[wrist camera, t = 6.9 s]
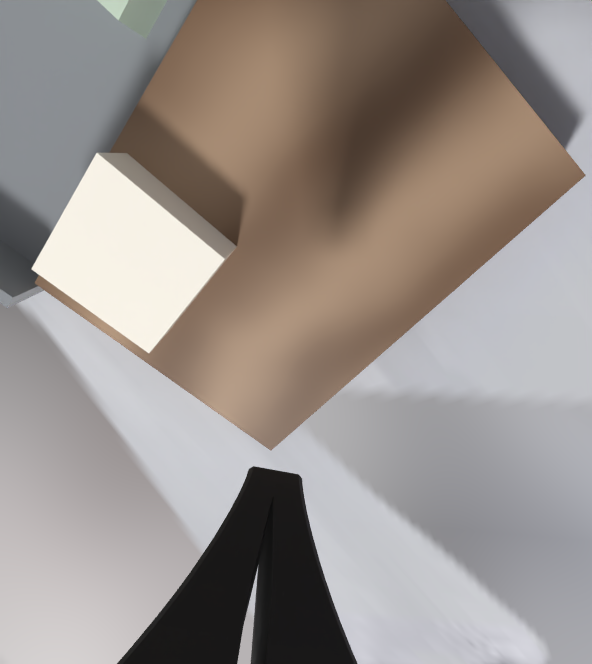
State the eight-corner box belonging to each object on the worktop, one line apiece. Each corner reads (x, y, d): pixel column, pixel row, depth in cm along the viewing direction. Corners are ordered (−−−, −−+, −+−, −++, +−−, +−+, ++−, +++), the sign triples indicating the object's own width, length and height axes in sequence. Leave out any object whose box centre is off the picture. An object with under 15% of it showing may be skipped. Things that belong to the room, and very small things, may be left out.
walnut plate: (553, 173, 15) (585, 175, 13) (275, 424, 21) (270, 450, 19) (304, -128, 12) (300, -180, 10) (63, 270, 18) (34, 282, 16)
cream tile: (237, 246, 15) (224, 259, 13) (168, 332, 16) (149, 353, 15) (127, 153, 14) (96, 152, 12) (65, 255, 15) (31, 269, 13)
